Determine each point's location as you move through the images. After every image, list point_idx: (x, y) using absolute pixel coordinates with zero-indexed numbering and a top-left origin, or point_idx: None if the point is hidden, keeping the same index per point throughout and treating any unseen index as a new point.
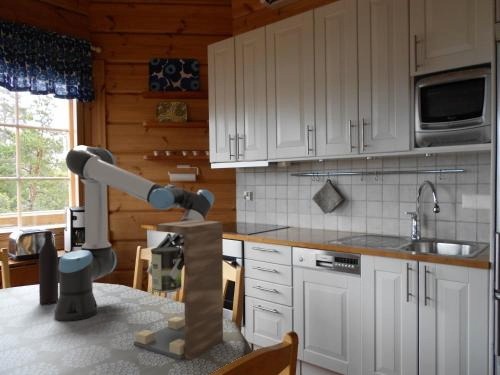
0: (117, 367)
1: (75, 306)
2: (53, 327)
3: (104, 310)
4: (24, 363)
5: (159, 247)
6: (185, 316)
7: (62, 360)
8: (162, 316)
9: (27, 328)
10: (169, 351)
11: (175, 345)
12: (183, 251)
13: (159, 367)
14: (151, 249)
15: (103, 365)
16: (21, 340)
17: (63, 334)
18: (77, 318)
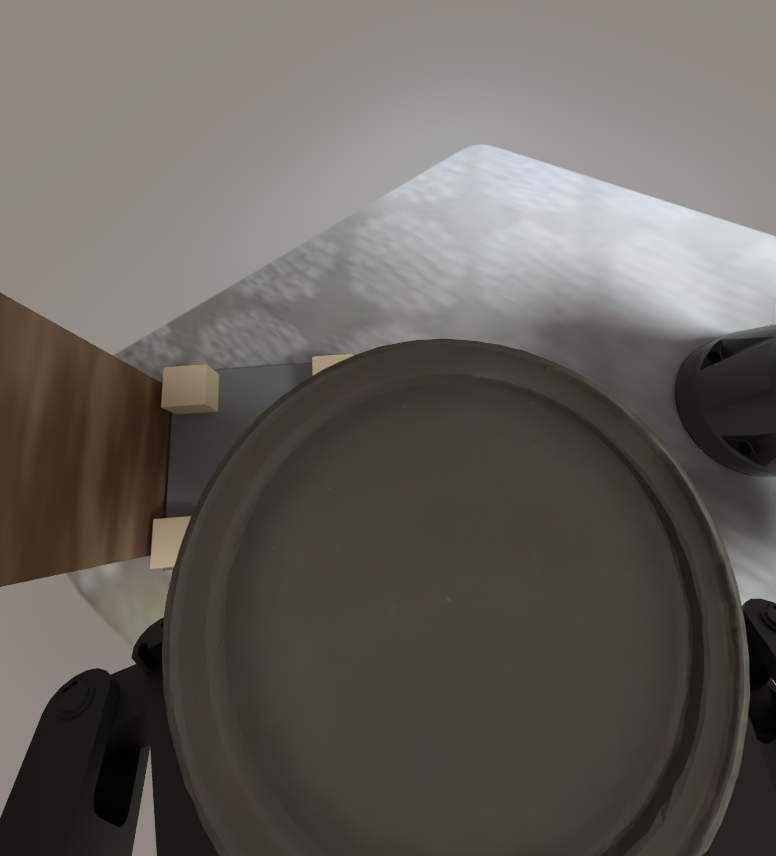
0: (287, 267)
1: (734, 355)
2: (665, 304)
3: (720, 490)
4: (478, 172)
5: (726, 659)
6: (64, 331)
7: (426, 220)
8: None
9: (708, 261)
10: (218, 373)
11: (182, 366)
12: (170, 804)
13: (198, 320)
14: (623, 409)
15: (324, 255)
16: (624, 219)
17: (587, 294)
18: (682, 372)
